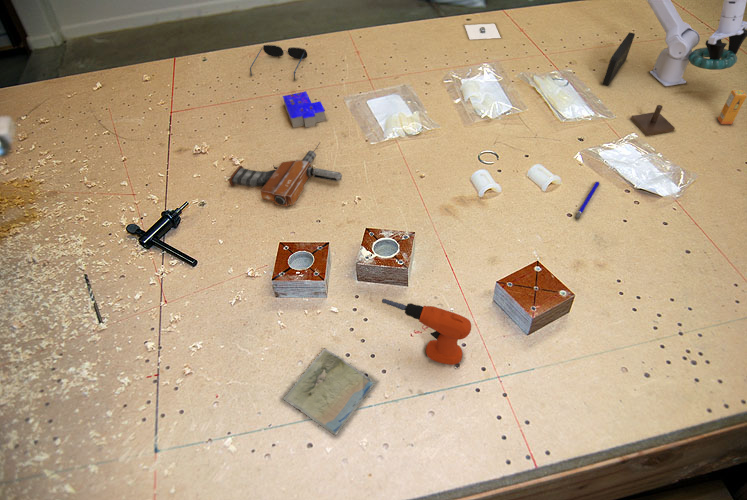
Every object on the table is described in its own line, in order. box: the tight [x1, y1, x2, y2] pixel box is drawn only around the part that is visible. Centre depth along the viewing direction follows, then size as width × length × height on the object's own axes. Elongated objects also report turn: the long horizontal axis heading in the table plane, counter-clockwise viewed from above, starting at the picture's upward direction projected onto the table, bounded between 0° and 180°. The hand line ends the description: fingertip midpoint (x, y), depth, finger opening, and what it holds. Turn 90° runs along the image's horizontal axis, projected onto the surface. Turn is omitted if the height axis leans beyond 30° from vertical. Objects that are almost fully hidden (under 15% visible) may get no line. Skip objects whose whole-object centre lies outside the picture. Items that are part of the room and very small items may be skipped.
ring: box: [688, 46, 738, 71], centre depth 164 cm, size 13×13×3 cm
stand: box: [630, 104, 676, 137], centre depth 158 cm, size 9×9×7 cm
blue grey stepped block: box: [282, 90, 326, 129], centre depth 168 cm, size 11×15×5 cm
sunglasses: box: [249, 44, 308, 81], centre depth 189 cm, size 17×15×5 cm
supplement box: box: [717, 89, 747, 125], centre depth 157 cm, size 3×3×10 cm
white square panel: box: [464, 23, 502, 41], centre depth 204 cm, size 12×12×2 cm
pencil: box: [574, 180, 600, 220], centre depth 139 cm, size 17×1×1 cm, turn 146°
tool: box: [228, 142, 343, 207], centre depth 149 cm, size 4×27×30 cm
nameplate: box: [602, 31, 636, 86], centre depth 178 cm, size 21×2×10 cm, turn 146°
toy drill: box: [381, 298, 472, 366], centre depth 105 cm, size 5×19×15 cm, turn 71°
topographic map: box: [282, 347, 377, 436], centre depth 105 cm, size 14×14×2 cm
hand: (722, 59), depth 163 cm, fingers closed on ring, 7 cm apart
